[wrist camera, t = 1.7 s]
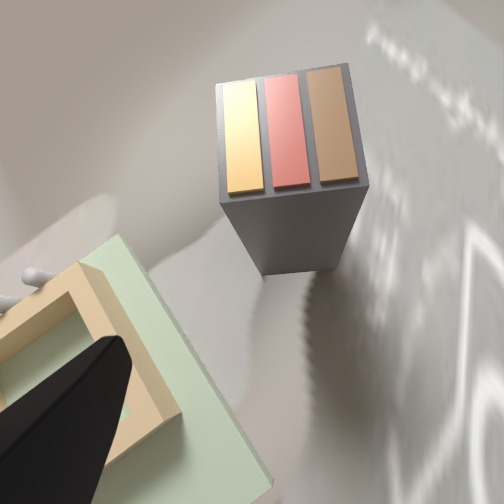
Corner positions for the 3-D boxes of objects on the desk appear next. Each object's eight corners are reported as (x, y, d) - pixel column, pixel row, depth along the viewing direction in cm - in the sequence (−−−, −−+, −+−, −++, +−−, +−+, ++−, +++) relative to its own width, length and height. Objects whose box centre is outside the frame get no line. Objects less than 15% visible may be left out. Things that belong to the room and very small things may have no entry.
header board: (274, 479, 18) (266, 515, 14) (52, 650, 17) (-19, 736, 13) (125, 238, 23) (90, 216, 19) (-49, 362, 22) (-122, 366, 19)
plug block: (335, 269, 20) (370, 183, 10) (261, 275, 21) (218, 201, 10) (326, 200, 22) (348, 58, 11) (257, 208, 22) (214, 80, 12)
